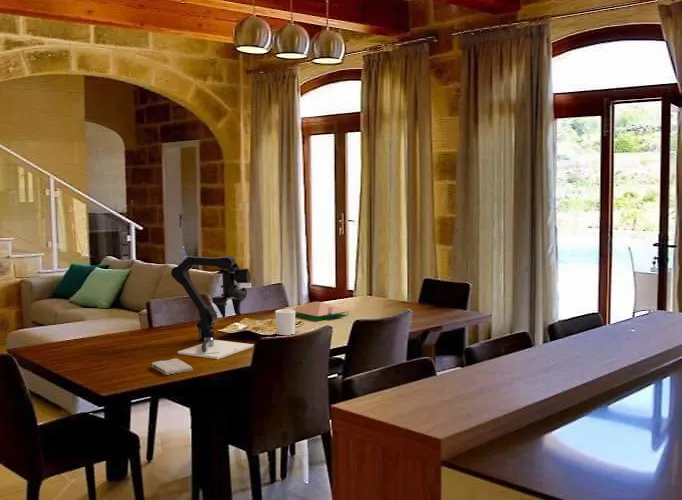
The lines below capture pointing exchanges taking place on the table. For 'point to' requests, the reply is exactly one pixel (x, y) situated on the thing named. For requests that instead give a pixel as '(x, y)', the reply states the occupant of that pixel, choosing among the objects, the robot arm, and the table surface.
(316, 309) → the house
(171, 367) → the washcloth
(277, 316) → the candle holder
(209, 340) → the tuner lever
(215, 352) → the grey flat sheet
